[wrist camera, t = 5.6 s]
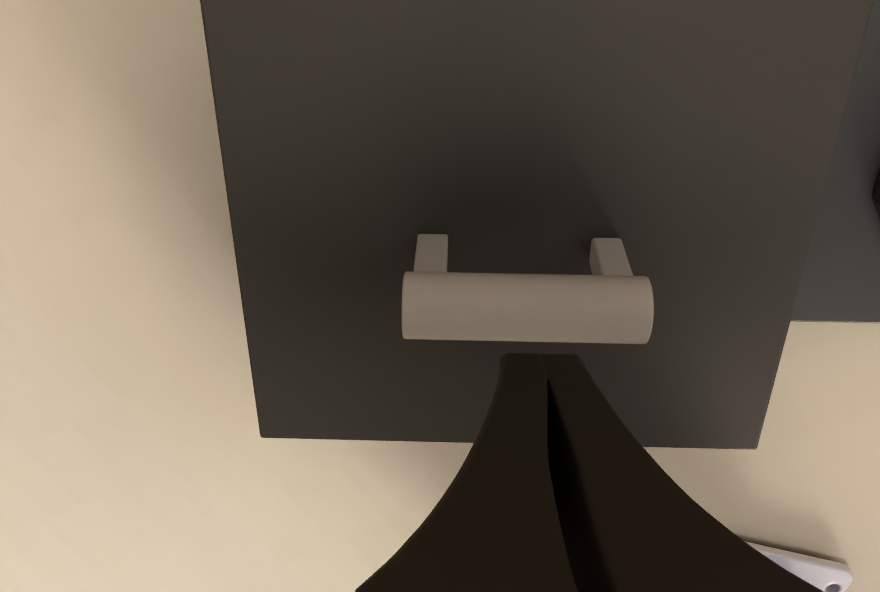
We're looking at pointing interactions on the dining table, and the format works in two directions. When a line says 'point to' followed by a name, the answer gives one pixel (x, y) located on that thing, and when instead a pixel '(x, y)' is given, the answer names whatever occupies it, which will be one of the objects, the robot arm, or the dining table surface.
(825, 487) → the dining table surface
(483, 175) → the lid
